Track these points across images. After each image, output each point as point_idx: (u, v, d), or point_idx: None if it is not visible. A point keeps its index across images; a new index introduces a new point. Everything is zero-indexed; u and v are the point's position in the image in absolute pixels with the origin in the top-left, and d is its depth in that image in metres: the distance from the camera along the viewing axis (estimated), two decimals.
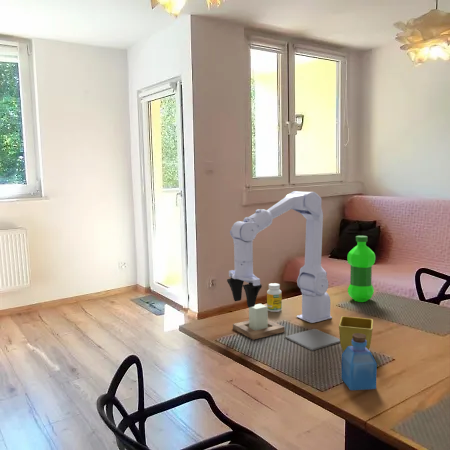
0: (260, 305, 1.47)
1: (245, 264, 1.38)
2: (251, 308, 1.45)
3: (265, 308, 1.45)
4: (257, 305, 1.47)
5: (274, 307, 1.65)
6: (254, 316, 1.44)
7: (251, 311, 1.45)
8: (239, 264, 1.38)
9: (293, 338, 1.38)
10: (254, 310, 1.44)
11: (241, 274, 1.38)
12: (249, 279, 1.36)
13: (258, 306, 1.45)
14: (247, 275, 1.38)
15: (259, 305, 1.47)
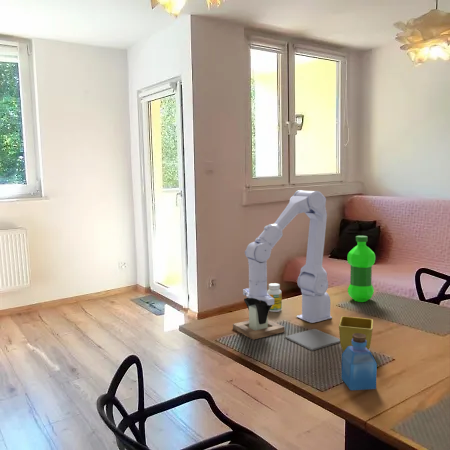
0: None
1: (259, 284, 1.42)
2: (251, 308, 1.45)
3: None
4: None
5: (274, 307, 1.65)
6: (254, 316, 1.44)
7: (251, 310, 1.45)
8: (254, 284, 1.43)
9: (293, 338, 1.38)
10: (254, 310, 1.44)
11: (256, 294, 1.43)
12: (264, 298, 1.41)
13: None
14: (261, 294, 1.43)
15: None
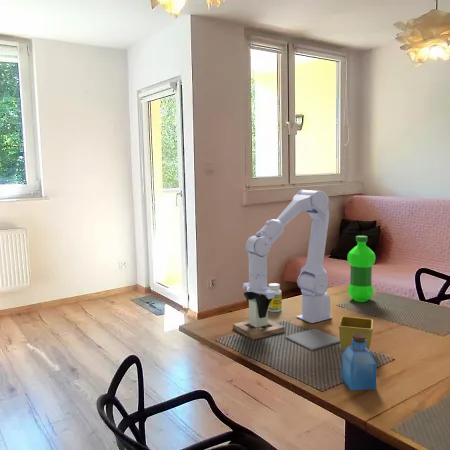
0: None
1: (259, 278, 1.42)
2: (251, 302, 1.45)
3: None
4: None
5: (274, 307, 1.65)
6: (254, 310, 1.44)
7: (251, 304, 1.45)
8: (254, 277, 1.42)
9: (293, 338, 1.38)
10: (254, 304, 1.44)
11: (256, 288, 1.43)
12: (264, 292, 1.40)
13: None
14: (261, 288, 1.43)
15: None
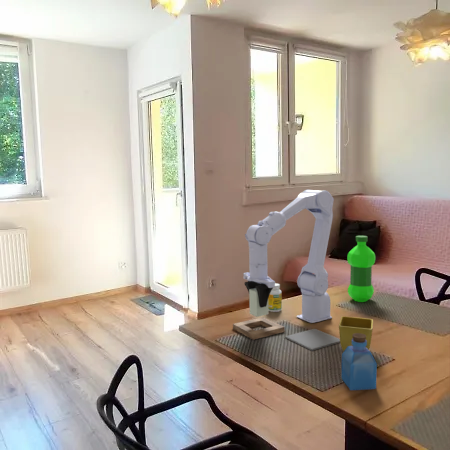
0: None
1: (260, 267, 1.42)
2: (251, 291, 1.45)
3: None
4: None
5: (274, 307, 1.65)
6: (254, 299, 1.44)
7: (252, 294, 1.45)
8: (254, 267, 1.42)
9: (293, 338, 1.38)
10: (254, 293, 1.43)
11: (256, 277, 1.42)
12: (264, 281, 1.40)
13: None
14: (262, 277, 1.42)
15: None
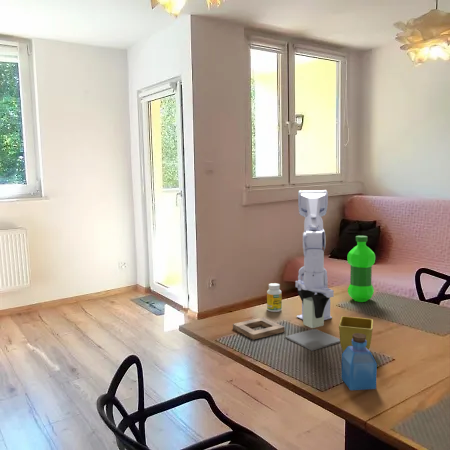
0: None
1: (317, 275, 1.33)
2: (306, 301, 1.36)
3: None
4: None
5: (274, 307, 1.65)
6: (310, 309, 1.35)
7: (307, 304, 1.36)
8: (310, 275, 1.33)
9: (293, 338, 1.38)
10: (310, 303, 1.34)
11: (312, 286, 1.33)
12: (322, 290, 1.31)
13: None
14: (318, 286, 1.33)
15: None
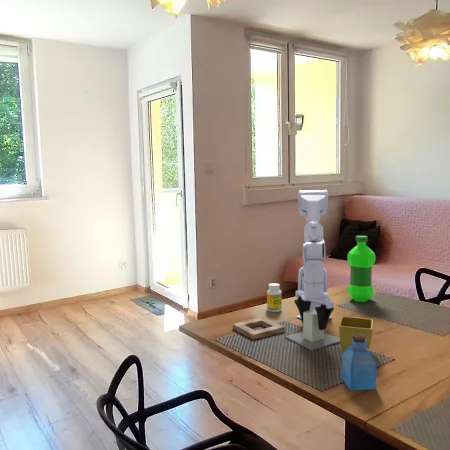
0: (315, 311, 1.38)
1: (317, 286, 1.33)
2: (306, 314, 1.36)
3: None
4: (312, 311, 1.38)
5: (274, 307, 1.65)
6: (310, 323, 1.35)
7: (307, 317, 1.36)
8: (310, 285, 1.33)
9: (293, 338, 1.38)
10: (310, 317, 1.35)
11: (312, 296, 1.34)
12: (322, 301, 1.31)
13: (314, 313, 1.36)
14: (318, 297, 1.34)
15: (314, 311, 1.38)
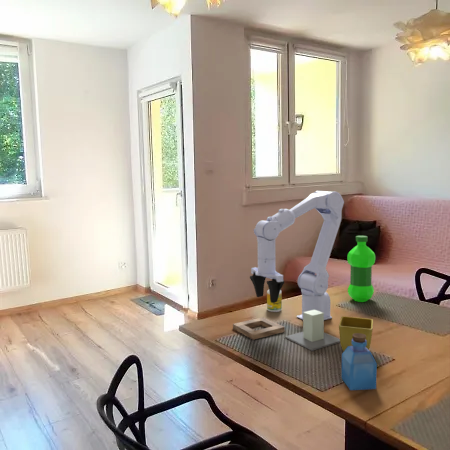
0: (315, 311, 1.38)
1: (268, 261, 1.44)
2: (306, 314, 1.36)
3: (321, 314, 1.36)
4: (312, 311, 1.38)
5: (274, 307, 1.65)
6: (310, 323, 1.35)
7: (307, 317, 1.36)
8: (263, 261, 1.44)
9: (293, 338, 1.38)
10: (310, 317, 1.35)
11: (265, 271, 1.44)
12: (273, 275, 1.42)
13: (314, 313, 1.36)
14: (270, 272, 1.45)
15: (314, 311, 1.38)
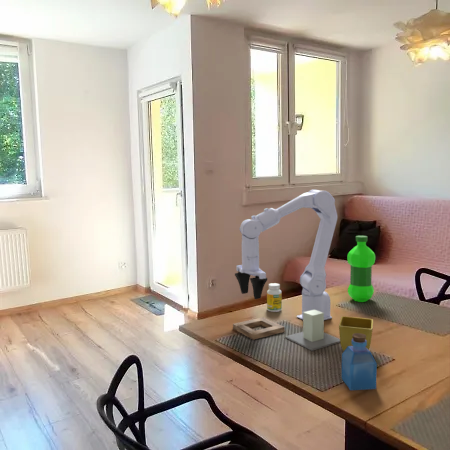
0: (315, 311, 1.38)
1: (252, 259, 1.49)
2: (306, 314, 1.36)
3: (321, 314, 1.36)
4: (312, 311, 1.38)
5: (274, 307, 1.65)
6: (310, 323, 1.35)
7: (307, 317, 1.36)
8: (246, 259, 1.49)
9: (293, 338, 1.38)
10: (310, 317, 1.35)
11: (248, 269, 1.49)
12: (256, 273, 1.47)
13: (314, 313, 1.36)
14: (254, 269, 1.49)
15: (314, 311, 1.38)
